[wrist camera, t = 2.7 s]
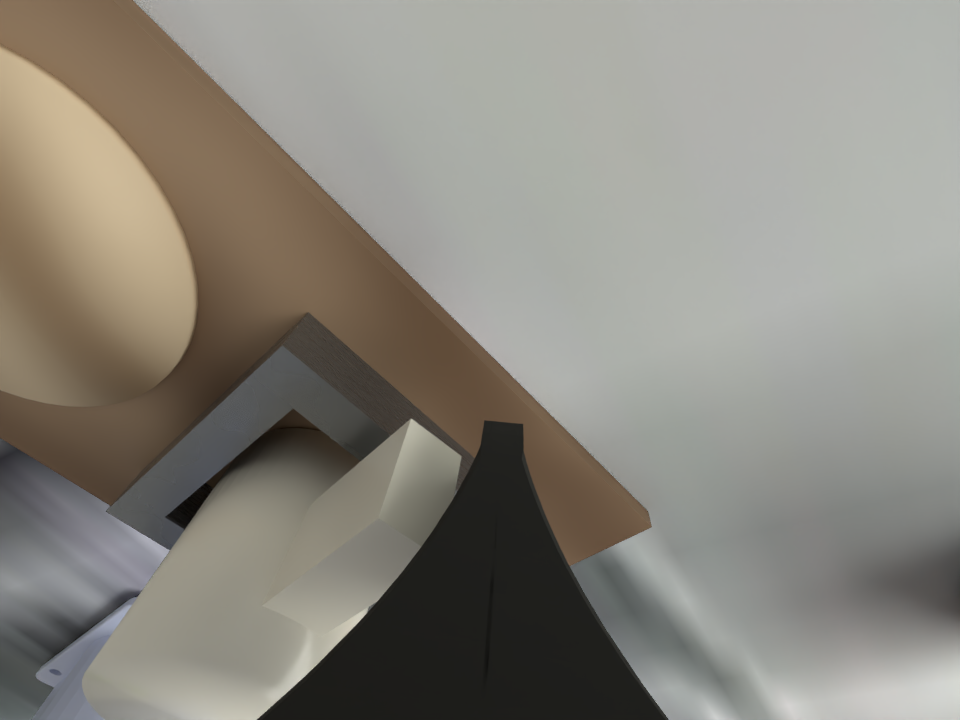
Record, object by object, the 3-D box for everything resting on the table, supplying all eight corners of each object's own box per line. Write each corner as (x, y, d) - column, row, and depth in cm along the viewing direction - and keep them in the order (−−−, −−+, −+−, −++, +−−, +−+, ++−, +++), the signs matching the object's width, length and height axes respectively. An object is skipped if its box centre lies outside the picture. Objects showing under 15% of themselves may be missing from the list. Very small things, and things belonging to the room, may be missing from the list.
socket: (349, 607, 19) (336, 651, 18) (140, 471, 16) (105, 511, 15) (531, 507, 16) (531, 552, 14) (308, 312, 13) (281, 345, 11)
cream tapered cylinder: (327, 573, 18) (241, 795, 13) (196, 495, 17) (39, 712, 11) (523, 431, 14) (512, 676, 9) (372, 308, 12) (250, 519, 7)
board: (370, 647, 22) (366, 662, 21) (-348, 195, 13) (-383, 202, 13) (647, 511, 16) (651, 527, 16) (-257, -386, 8) (-310, -414, 7)
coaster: (97, 450, 16) (90, 457, 16) (-248, 226, 13) (-264, 230, 12) (271, 265, 12) (266, 270, 12) (-152, -112, 9) (-173, -116, 9)
